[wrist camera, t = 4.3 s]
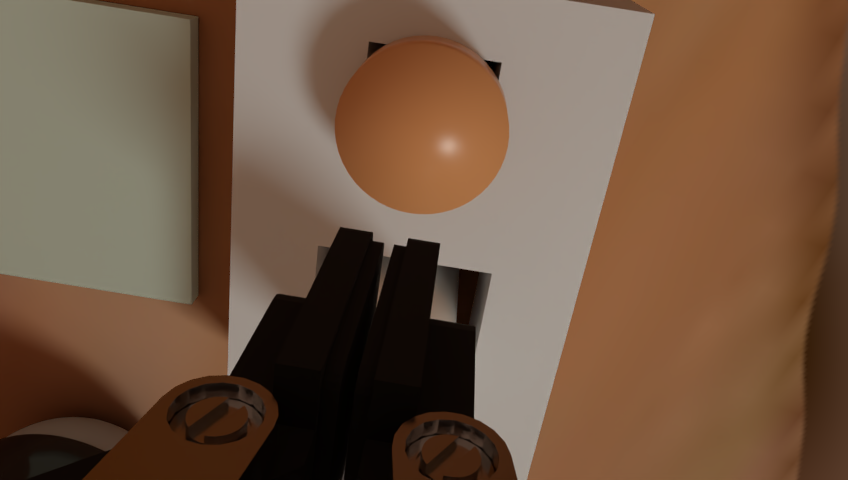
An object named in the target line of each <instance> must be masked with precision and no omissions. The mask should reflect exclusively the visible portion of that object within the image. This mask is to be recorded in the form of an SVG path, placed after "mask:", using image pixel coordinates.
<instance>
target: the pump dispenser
mask: <svg viewBox="0 0 848 480" xmlns="http://www.w3.org/2000/svg"><path fill="white" fill-rule="evenodd" d="M127 433H128V431H127V430H125V429H123V428H121V427H118V426H116V425H114V424H111V423H108V422H105V421H101V420H97V419H92V418H84V417H63V418H55V419H50V420H45V421H41V422H38V423H35V424H32V425H29V426H27V427H25V428H22V429H20V430H18V431H16V432H14V433H12V434H11V435H9V436H7V437H6V438H2V439H0V480H25V479H28V478H31V477H34V476H37V475H40V474H42V473H45V472H48V471H51V470H54V469H57V468H60V467H62V466H65V465H68V464H71V463H74V462H77V461H79V460H82V459H85V458H88V457H91V456H94V455H96V454H99V453H102V452H105V451H108V450H111V449H112V448H113V447H114V446H115V445H116V444H117V443H118V442H119V441H120V440H121V439H122V438H123V437H124V436H125V435H126V434H127Z"/></svg>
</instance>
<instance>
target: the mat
mask: <svg viewBox="0 0 848 480" xmlns="http://www.w3.org/2000/svg"><path fill="white" fill-rule="evenodd" d="M0 274H6V275H12V276H18V277H25V278H31V279H37V280H43V281H49V282H55V283H61V284H68V285H74V286H80V287H86V288H92V289H98V290H105V291H111V292H117V293H123V294H129V295H135V296H142V297H148V298H154V299H160V300H166V301H172V302H178V303H185V304H191V305H192V303H193V302H194V301H195V299H196V298H197V296H198V16H192V15H186V14H180V13H173V12H167V11H161V10H155V9H148V8H142V7H136V6H129V5H123V4H117V3H111V2H104V1H98V0H0Z"/></svg>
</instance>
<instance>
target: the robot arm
mask: <svg viewBox="0 0 848 480" xmlns="http://www.w3.org/2000/svg"><path fill="white" fill-rule="evenodd" d="M439 250H440V243H436V242H430V241H424V240H417V239H411V238H408V241H407V245H406V246H401V245H395V244H394V247H393V250H392V254H391V257H390V261H389V264H388V268H387V271H386V275H385V278H384V282H383V286H382V289H381V293H380V296H379V300H378V303H377V298H378V290H379V282H380V275H381V267H382V260H383V252H384V243H383V242H377V241H373V232H369V231H362V230H356V229H350V228H344V227H340V228H339V230H338V232H337V234H336V236H335V238H334V241H333V243H332V245H331V247H330V249H329V251H328V253H327V255H326V257H325V259H324V261H323V264H322V266H321V268H320V270H319V272H318V274H317V276H316V278H315V280H314V282H313V284H312V286H311V289H310V291H309V293H308V295H307V297H306V298H303V297H297V296H291V295H285V294H276V296H275V297H274V298H273V300H272V302H271V303H270V305H269V307H268V309H267V310H266V312H265V314H264V316H263V317H262V319H261V321H260V323H259V325H258V326H257V328H256V330H255V332H254V333H253V335H252V337H251V339H250V340H249V342H248V344H247V346H246V347H245V349H244V351H243V353H242V354H241V356H240V358H239V360H238V362H237V363H236V365H235V367H234V369H233V370H232V372H231V374H230V376H229V375H221V376H206V377H201V378H197V379H192V380H189V381H187V382H185V383H183V384H180V385H178V386H176V387H174V388H173V389H171V390H170V391H169V392H168V393H166V394H165V395H164V396H162V397H161V398H160V399H159V400H158V402H157V403H156V404H155V405H154V406H153V407H152V408H151V409H150V410H149V411H148V412H147V413H146V414H145V415H144V416H143V417H142V418H141V419H140V420H139V421H138V422H137V423H136V424H135V425H134V426H133V427H132V428H131V430H130V431H129V432H128V433H127V434H126V435H125V436H124V437H123V438H122V439H121V440H120V441H119V442H118V443H117V444H116V445H115V446H114V447H113V448H112V449H111V450H108V451H105V452H102V453H99V454H96V455H94V456H91V457H88V458H85V459H82V460H79V461H77V462H74V463H71V464H68V465H65V466H62V467H60V468H57V469H54V470H51V471H48V472H45V473H42V474H40V475H37V476H34V477H31V478H28V479H25V480H342V478H343V474H344V480H518V479H517V475H516V471H515V468H514V464H513V460H512V456H511V453H510V451H509V449H508V447H507V445H506V443H505V441H504V440H503V439H502V438H501V437H500V436H499V435H498V434H497V433H496V432H495V430H493V429H492V428H490V427H489V426H487V425H485V424H484V423H482V422H481V421H479V420H476V419H474V397H475V343H476V327H475V326H473V325H467V324H461V323H455V322H449V321H443V320H436V319H430V316H431V309H432V301H433V294H434V287H435V279H436V272H437V265H438V257H439ZM376 305H377V307H376ZM344 471H345V473H344Z"/></svg>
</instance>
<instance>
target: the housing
mask: <svg viewBox="0 0 848 480" xmlns="http://www.w3.org/2000/svg"><path fill="white" fill-rule="evenodd" d="M654 16H655V14H654V13H652V12H650V11H648V10H647V9H645V8H643V7H642V6H640V5H638V4H636V3H635V2H633V1H631V0H236V35H235V79H234V122H233V166H232V209H231V253H230V296H229V340H228V375H229V376H230V374H231V372H232V370H233V369H234V367H235V365H236V363H237V362H238V360H239V358H240V356H241V354H242V353H243V351H244V349H245V347H246V346H247V344H248V342H249V340H250V339H251V337H252V335H253V333H254V332H255V330H256V328H257V326H258V325H259V323H260V321H261V319H262V317H263V316H264V314H265V312H266V310H267V309H268V307H269V305H270V303H271V302H272V300H273V298H274V297H275V296H276V294H285V295H291V296H297V297H303V298H306V297H307V295H308V293H309V291H310V289H311V286H312V284H313V282H314V280H315V278H316V276H317V274H318V272H319V270H320V268H321V266H322V264H323V261H324V259H325V257H326V255H327V253H328V251H329V249H330V247H331V245H332V243H333V241H334V238H335V236H336V234H337V232H338V230H339V228H340V227H344V228H350V229H356V230H362V231H369V232H373V241H377V242H383V243H384V252H383V256H385V257H391V254H392V250H393V247H394V244H395V245H401V246H406V245H407V241H408V238H411V239H417V240H424V241H430V242H436V243H440V250H439V257H438V265H441V266H447V267H454V268H460V269H466V270H472V271H478V272H479V275H478V280H477V285H476V290H475V295H474V300H473V305H472V310H471V315H470V320H469V325H473V326H475V327H476V343H475V397H474V419H476V420H479V421H481V422H482V423H484V424H485V425H487V426H489V427H490V428H492V429H493V430H495V432H496V433H497V434H498V435H499V436H500V437H501V438H502V439H503V440H504V441H505V443H506V445H507V447H508V449H509V451H510V453H511V456H512V460H513V464H514V468H515V471H516V475H517V479H518V480H527V476H528V473H529V469H530V466H531V462H532V458H533V455H534V451H535V447H536V444H537V440H538V436H539V433H540V429H541V426H542V422H543V418H544V415H545V411H546V407H547V404H548V400H549V397H550V393H551V389H552V386H553V382H554V378H555V375H556V371H557V368H558V364H559V360H560V357H561V353H562V349H563V346H564V342H565V338H566V335H567V331H568V328H569V324H570V320H571V317H572V313H573V309H574V306H575V302H576V299H577V295H578V291H579V288H580V284H581V280H582V277H583V273H584V270H585V266H586V262H587V259H588V255H589V251H590V248H591V244H592V241H593V237H594V233H595V230H596V226H597V222H598V219H599V215H600V211H601V208H602V204H603V201H604V197H605V193H606V190H607V186H608V182H609V179H610V175H611V172H612V168H613V164H614V161H615V157H616V153H617V150H618V146H619V143H620V139H621V135H622V132H623V128H624V124H625V121H626V117H627V113H628V110H629V106H630V103H631V99H632V95H633V92H634V88H635V84H636V81H637V77H638V74H639V70H640V66H641V63H642V59H643V55H644V52H645V48H646V45H647V41H648V37H649V34H650V30H651V26H652V23H653V19H654ZM422 35H428V36H438V37H442V38H447V39H450V40H453V41H455V42H458V43H460V44H462V45H464V46H466V47H468V48H469V49H471V50H472V51H473V52H475V53H476V54H478V55H479V56H480V57H481V58H482V59H483V60H488V61H494V62H493V68H492V71H493V72H494V74H495V75H496V77H497V79H498V80H499V83H500V85H501V87H502V90H503V93H504V96H505V100H506V105H507V113H508V120H509V142H508V148H507V152H506V156H505V159H504V161H503V164H502V166H501V168H500V170H499V172H498V173H497V175H496V177H495V178H494V180H493V181H492V182H491V183H490V185H489V186H488V187H487V188H486V189H485V190H484V191H483V192H482V193H481V194H480V195H478V196H477V197H476V198H474V199H473V200H471V201H470V202H468V203H466V204H464V205H463V206H460V207H458V208H455V209H453V210H450V211H446V212H442V213H435V214H412V213H406V212H402V211H398V210H395V209H392V208H390V207H387V206H385V205H383V204H381V203H379V202H378V201H376V200H375V199H373V198H372V197H370V196H369V195H368V194H367V193H365V192H364V191H363V190H362V189H361V188H360V187H359V186H358V185H357V184H356V183H355V182H354V180H353V179H352V178H351V176H350V175H349V173H348V172H347V170H346V168H345V166H344V165H343V163H342V160H341V158H340V155H339V152H338V148H337V144H336V138H335V116H336V110H337V106H338V103H339V100H340V97H341V95H342V93H343V90H344V88H345V87H346V85H347V83H348V82H349V80H350V79H351V77H352V76H353V75H354V74H355V72H356V71H357V70H358V69H359V67H360V66H361V65H362V64H363V63H364V61H365V60H366V59H367V58H368V57H370V56H371V55H372V54H373V53H374V52H375V51H377V50H378V49H380V48H381V47H383V46H385V45H386V44H389V43H391V42H393V41H396V40H399V39H402V38H406V37H411V36H422Z"/></svg>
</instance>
